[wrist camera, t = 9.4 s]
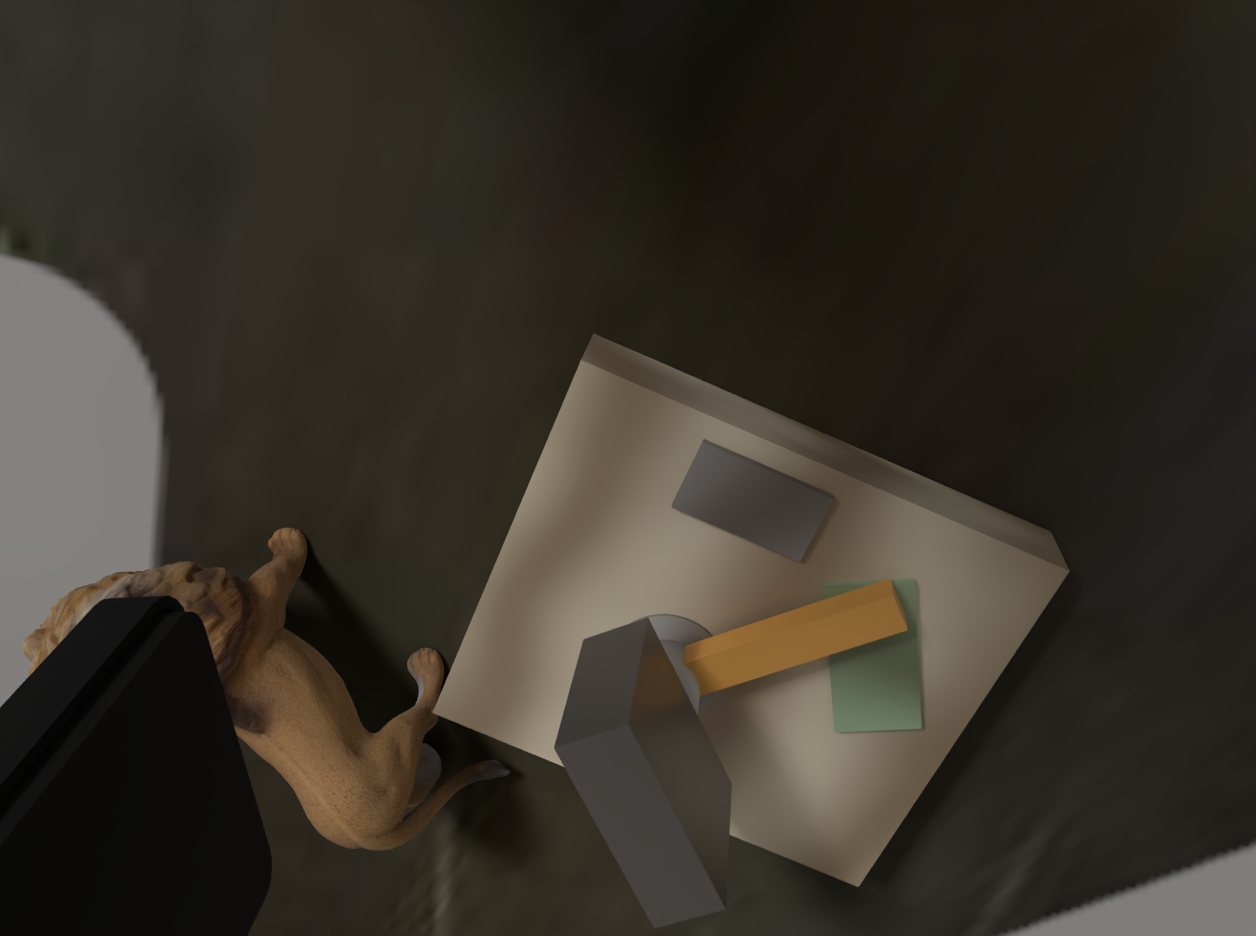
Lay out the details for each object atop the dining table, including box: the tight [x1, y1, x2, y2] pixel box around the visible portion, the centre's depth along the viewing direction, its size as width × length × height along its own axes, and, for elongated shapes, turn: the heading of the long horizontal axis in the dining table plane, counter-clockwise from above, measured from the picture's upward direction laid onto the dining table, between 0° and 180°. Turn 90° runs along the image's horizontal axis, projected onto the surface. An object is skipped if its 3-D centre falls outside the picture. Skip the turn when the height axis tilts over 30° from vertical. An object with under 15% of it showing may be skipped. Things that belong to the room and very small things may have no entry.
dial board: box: [433, 333, 1069, 887], centre depth 37 cm, size 15×13×3 cm
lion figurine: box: [21, 527, 510, 850], centre depth 37 cm, size 15×5×9 cm, turn 51°
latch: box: [554, 578, 908, 928], centre depth 32 cm, size 8×6×7 cm
